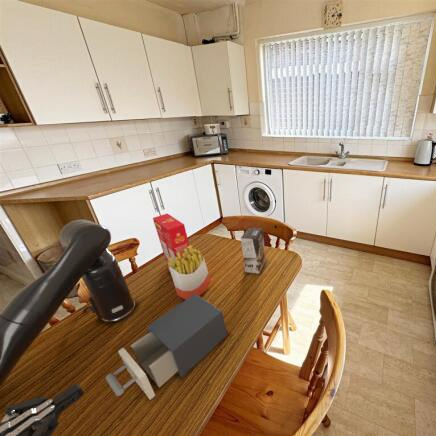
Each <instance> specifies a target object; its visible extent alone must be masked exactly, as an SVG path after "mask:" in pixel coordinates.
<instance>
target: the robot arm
mask: <svg viewBox="0 0 436 436" xmlns="http://www.w3.org/2000/svg"><path fill="white" fill-rule="evenodd" d="M111 241H112V233H111V232H110V229H108V228H107V227H106V226H105V225H102V224H99V223H97V222H94V221H91V220H88V219H76V220H72V221H69V222H68V223H65V225H64V226H63V227H62V228H61V230H60V232H59V242H60V244H61V247H62V249H63V250H64V251H63V253H62V254H61V255H60V257H58V259H57V260H56V261H55V263H54V264H53V265H52V266H51V267H50V268H49V269H48V270H47V271H45V272H44V273H43V274H41V275H40V276H38V277H37V278H35V279H34V280H33V281H31V282H30V283H28V284H27V285H25V286H24V287H23V288H21V289H20V290H19V291H18V292H17V293H15V295H13V297H12V298H11V299H10V300H9V302H8V303H7V304H6V305H5V306H4V307H3V309H2V310H1V312H0V389H1V388H2V387H3V385H4V383H5V382H6V381H7V379H8V378H9V377H10V375H11V374H12V372H13V371H14V369H15V367H17V365H18V363H19V361H20V360H21V359H22V357H23V356H24V355H25V353H26V352H27V351H28V350H29V348H30V347H32V344H33V343H34V342H35V341H36V340H37V338H38V337H39V336H40V334H41V333H42V332H43V331H44V330H45V328H46V327H47V326H48V324H49V323H50V322H51V320H52V319H53V317H54V316H55V315H56V313H57V312H58V311H59V309H60V308H61V306H62V304H63V303H64V302H65V300H66V299H67V297H68V296H69V295H70V294H71V292H72V291H73V290H74V289H75V288H76V286H77V284H78V283H79V282H80V280H81V279H82V281H83V283H84V285H85V287H86V289H87V291H88V293H89V296H88V302H89V303H90V305H88V306H86V307H85V308H83V311H82V313H83V314H86V312H87V310H89V309H90V310H91V313H92V314H96V317H97V318H98V320H99V321H103V322H104V323H108V324H112V323H116V322H117V323H118V322H119V321H122V320H124V319H126V318H127V317H129V316H130V315H131V314H132V313H133V312H134V311H135V310H136V302H135V301H134V298H133V296H132V294H131V291H130V288H129V286H128V284H127V282H126V281H127V280H126V279H125V277H124V274H123V272H122V269H121V267H120V264H119V262H118V260H117V257H116V256H115V255H114V254H113V253H112V252H111V251H110V250H109V247H110V244H111ZM84 394H85V392H84V390H83V389H82V387H81V385H80V383H76V384H74V385H71V386H69V387H68V388H67V389H65V390H64V391H62V392H61V393H59V394H58V395H57V396H55V397H54V398H47V397H46V395H43V396H39V397H36V398H35V397H34V398H32V399H27V400H23V401H20V402H17V403H13V404H10V405H8V406H6V408H5V409H4V410H3V412H4V413H5V415H4V417H3V418H2V420H1V421H0V436H52V435H53V433H54V432H55V431H56V429H57V428H58V426H59V425H60V423H59V421H58V420H59V417H60V416H61V414H62V413H63V412H64V411H65V410H67V409H68V408H70V407H71V406H72V405H73V404H75V403H76V402H78V401H79V400H80V398H81V397H82V396H83V395H84Z"/></svg>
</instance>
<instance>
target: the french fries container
mask: <svg viewBox="0 0 436 436" xmlns="http://www.w3.org/2000/svg"><path fill="white" fill-rule="evenodd" d="M187 249H188V251H189V253H188V251H187ZM187 249H186V248H185V249H184V252H185V253H183V254H182V257H183V258H181V256H180V253H179V252H178V253H177V256H178V258H177V257H174V260H175V263H174V261H173V259H172V258H169V259H168V261H169V264H170V266H169V269H170V272H171V273H170V272H169V273H170V275H171V278H172V281H173V284H174V288H175V292H176V295H177V296H178V297H180V298H181V299H183V300H184V301H185V300H186V299H188V298H189V297H191V296H192V295H194V294H197V295H198V296H200V297H201V295H202V294H203V293H205V292H206V291H207V289H208V287H209V286H210V283H211V278H210V274H209V270H208V266H207V264H206V261H205V257H204V256H203V254H202V252H201V251H200V250H197V249H196V248H194V247H193V245H192V244H191V245H190V244H189V246H188V247H187ZM178 260H179V261H178ZM169 269H168V270H169Z"/></svg>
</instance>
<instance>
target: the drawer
mask: <svg viewBox="0 0 436 436" xmlns="http://www.w3.org/2000/svg"><path fill="white" fill-rule="evenodd" d="M130 347H131V349H132V351H133V353H134V356H135V358H136V360H137V362H136V360H134V358H133V357H132V356H131V355H130V353H129V352H128V351H127V350H126V349H125V347H122V348H120V349H119V350H117V352H118V355H119V357H120V358H121V360H122V362H123V365H122V366H121V367H119V368H118V369H117V370H115V371H114V372H113V373H112V372H110V373H108V374H107V375H106V376H105V380H106V382H107V384H108V385H109V387H110V388H111V389H112V391H113V392H114V394H115V396H117V397H119V396H122V395H123V393H124V392H125V390H126V389H127V388H128V387H129V386H130V385H132V384H133V383H136V384H137V385H138V386H139V388H140V389H141V390H142V391H143V393H144V394H145V396H147V398H148V399H149V400H150V401H151V400H152V399H153V398H154V397H155V396H156V393H155V391H154V389H153V386H152V385H151V382H150V380H149V378H150V379H151V380H152V381H153V382H154V384H155V386H157V387H158V388H161V387H162V386H163V385H164V384H165V383H167V382H168V381H169V380H170V379H171V378H172V377H174V375H175V374H177V371H178V369H177V366H176V363H175V361H174V358H173V355H172V352H171V351H170V350H169V349H168V348H167V347H166V346H165V345H164V344H163V343H162V342H161V341H159V340H158V339H157V338H156V337H155V336H154V335H153V334H152V333H151V332H147V333H146V334H145V335H143V336H142V337H140V338H139V339H137V340H136V341H134V342H133V343H132V344H130ZM125 369H126V370H127V372H128V373H129V375H130V376H131V379H129V380H128V381H127V382H126V383H125V384H123V385H122V384H121V383H120V382H119V380H118V379H117V378H116V376H117V375H118V374H120V373H121V372H122V371H124V370H125ZM147 375H148V376H149V378H148V376H147Z"/></svg>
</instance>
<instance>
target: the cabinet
mask: <svg viewBox="0 0 436 436" xmlns="http://www.w3.org/2000/svg"><path fill="white" fill-rule="evenodd" d="M146 329H147V333H149V332H151V333H152V334H153V335H154V336H155V337H156V338H157V339H158V340H159V341H161V342H162V343H163V344H164V345H165V346H166V347H167V348H168V349H169V350H170V351H171V352H172V355H173V358H174V361H175V363H176V366H177V369H178V371H177V372H176V374H178V375H179V376H180V377H181V378H183V377H184V376H185V375H187V373H188V372H189V371H190V370H191V369H193V367H195V366H196V365H197V364H198V363H199V362H200V361H201V360H202V359H203V358H204V357H205V356H207V354H209V353H210V352H211V351H212V350H213V349H214V348H215V347H216V346H218V345H219V343H221V342H222V341H224V339H225V338H226V337H227V336H228V333H227V329H226V323H225V318H224V314H223V310H221V309H219V308H218V307H216V306H215V305H213V304H212V303H211V302H209V301H207V300H206V299H205V298H203V297H201V295H200V296H198V295H197V294H194V295H192V296H191V297H189V298H188V299H186V300H185V299H184V301H182V302H181V303H179V304H177V305H176V306H175V307H173V308H171V309H170V310H169V311H167V312H165V313H164V314H162V315H161V316H159V317H158V318H157V319H155V320H154V321H152V322H151V323H149V324H147V325H146Z"/></svg>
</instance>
